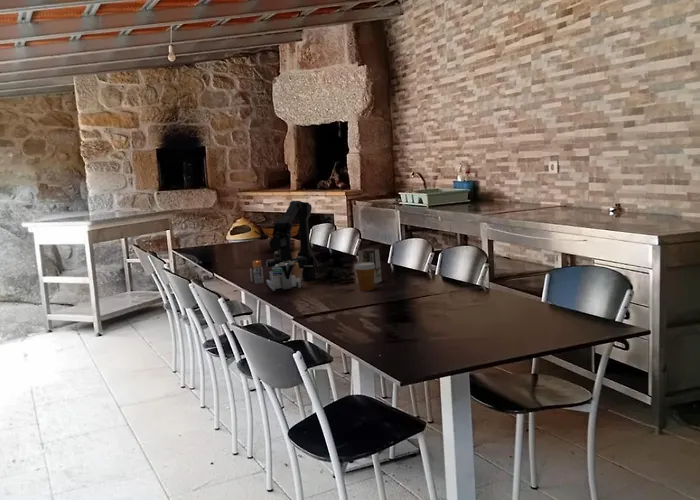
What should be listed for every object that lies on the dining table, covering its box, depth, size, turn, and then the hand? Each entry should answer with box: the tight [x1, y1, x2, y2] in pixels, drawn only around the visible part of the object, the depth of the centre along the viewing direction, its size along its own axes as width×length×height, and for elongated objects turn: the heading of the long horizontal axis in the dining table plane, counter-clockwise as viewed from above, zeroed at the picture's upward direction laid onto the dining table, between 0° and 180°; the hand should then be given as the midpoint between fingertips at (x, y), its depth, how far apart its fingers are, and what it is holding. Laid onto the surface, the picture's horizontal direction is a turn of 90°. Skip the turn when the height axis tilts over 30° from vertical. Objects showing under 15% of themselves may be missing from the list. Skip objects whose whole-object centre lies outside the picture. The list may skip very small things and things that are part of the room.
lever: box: [252, 259, 263, 275], centre depth 340 cm, size 4×10×4 cm
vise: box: [249, 267, 302, 292], centre depth 330 cm, size 20×33×6 cm, turn 16°
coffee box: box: [357, 248, 383, 284], centre depth 317 cm, size 9×6×16 cm
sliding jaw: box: [270, 271, 302, 291], centre depth 317 cm, size 15×7×9 cm, turn 106°
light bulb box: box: [271, 263, 288, 286], centre depth 326 cm, size 11×7×11 cm, turn 169°
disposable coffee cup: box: [354, 262, 375, 292], centre depth 301 cm, size 10×10×12 cm
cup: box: [254, 223, 300, 252], centre depth 443 cm, size 36×26×18 cm
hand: (287, 279), depth 312 cm, fingers closed, pressing on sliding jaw
